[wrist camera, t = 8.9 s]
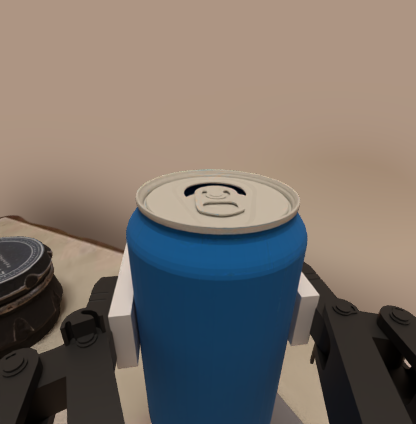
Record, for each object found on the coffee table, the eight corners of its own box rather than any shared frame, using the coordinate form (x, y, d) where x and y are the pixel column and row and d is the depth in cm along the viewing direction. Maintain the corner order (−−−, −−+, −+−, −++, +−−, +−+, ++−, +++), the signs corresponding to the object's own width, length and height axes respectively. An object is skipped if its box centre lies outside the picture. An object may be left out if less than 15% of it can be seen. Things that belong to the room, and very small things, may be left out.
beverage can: (253, 342, 17) (275, 166, 12) (290, 469, 11) (361, 231, 6) (155, 349, 17) (137, 167, 12) (141, 487, 11) (94, 240, 6)
